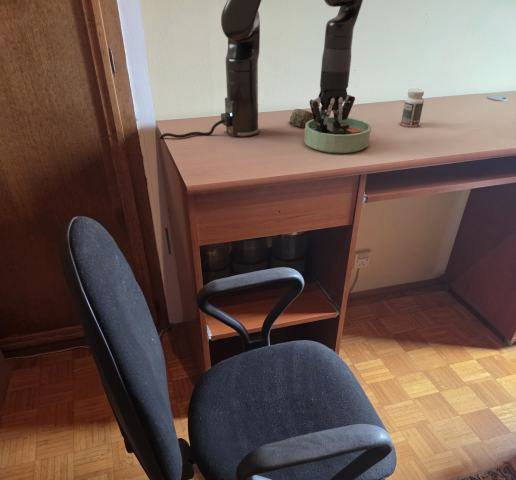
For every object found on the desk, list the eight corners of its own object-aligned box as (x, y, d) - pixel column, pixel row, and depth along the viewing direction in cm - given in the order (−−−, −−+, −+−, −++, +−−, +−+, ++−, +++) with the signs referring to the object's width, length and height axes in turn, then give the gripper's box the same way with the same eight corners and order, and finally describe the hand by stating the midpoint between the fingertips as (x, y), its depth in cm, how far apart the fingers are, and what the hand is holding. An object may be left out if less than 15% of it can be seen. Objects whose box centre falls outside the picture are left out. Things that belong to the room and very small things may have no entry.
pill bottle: (417, 122, 148) (424, 88, 141) (420, 127, 143) (427, 92, 137) (399, 122, 148) (405, 88, 141) (401, 127, 144) (408, 92, 137)
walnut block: (338, 139, 133) (339, 126, 130) (331, 135, 135) (332, 123, 133) (348, 137, 134) (349, 124, 132) (341, 134, 136) (342, 121, 134)
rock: (283, 125, 146) (284, 109, 143) (296, 119, 151) (297, 104, 148) (302, 128, 143) (302, 113, 140) (314, 123, 147) (316, 108, 144)
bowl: (325, 158, 122) (327, 139, 119) (293, 139, 135) (293, 121, 131) (381, 148, 128) (384, 129, 125) (345, 131, 141) (347, 113, 137)
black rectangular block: (342, 141, 127) (344, 130, 125) (332, 143, 126) (333, 132, 124) (325, 132, 133) (326, 122, 131) (315, 134, 132) (316, 123, 130)
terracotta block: (350, 145, 128) (352, 132, 126) (343, 142, 131) (345, 129, 128) (360, 143, 129) (362, 130, 127) (354, 140, 132) (355, 127, 129)
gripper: (350, 63, 123) (342, 130, 134) (305, 67, 118) (301, 136, 129) (366, 68, 118) (356, 137, 129) (320, 72, 113) (314, 144, 124)
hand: (328, 136), depth 129 cm, fingers closed on black rectangular block, 3 cm apart
